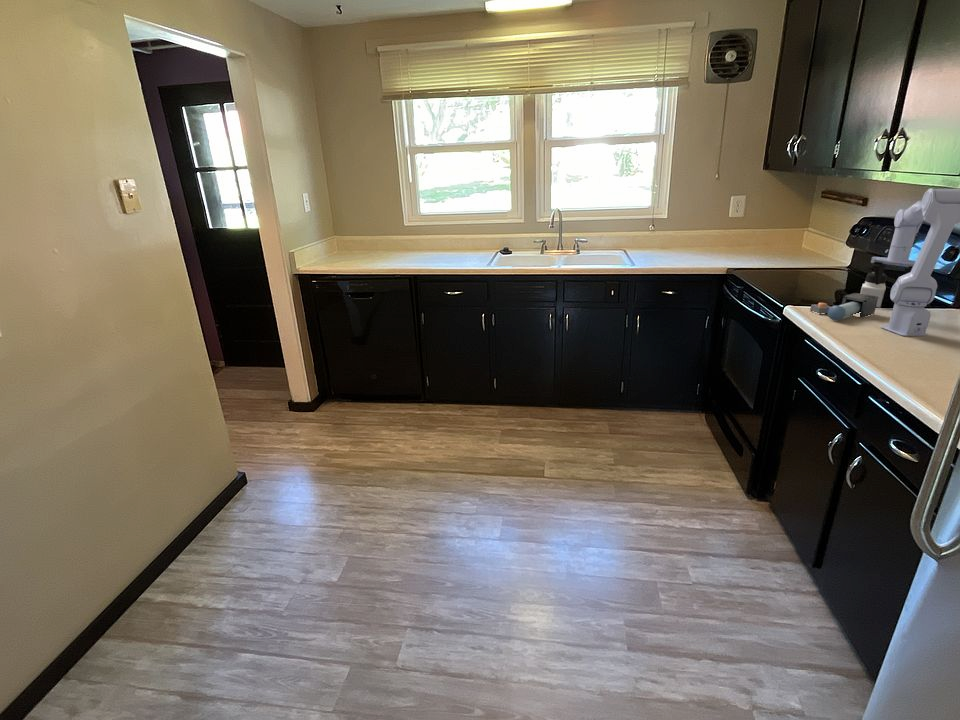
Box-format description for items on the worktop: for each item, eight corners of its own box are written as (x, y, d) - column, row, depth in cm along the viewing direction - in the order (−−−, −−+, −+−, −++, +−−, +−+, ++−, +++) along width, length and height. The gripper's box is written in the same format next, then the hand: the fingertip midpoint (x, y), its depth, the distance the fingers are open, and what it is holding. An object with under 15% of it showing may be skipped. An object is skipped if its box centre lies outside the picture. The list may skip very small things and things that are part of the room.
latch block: (831, 314, 183) (833, 307, 182) (818, 314, 183) (820, 308, 182) (822, 310, 188) (824, 304, 187) (809, 310, 188) (811, 304, 187)
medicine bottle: (880, 308, 190) (889, 276, 185) (857, 305, 194) (865, 273, 190) (881, 303, 195) (889, 272, 191) (858, 301, 199) (866, 270, 195)
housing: (850, 309, 188) (855, 292, 186) (873, 314, 182) (878, 296, 180) (839, 313, 184) (843, 296, 182) (862, 318, 178) (867, 300, 176)
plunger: (826, 312, 184) (828, 304, 183) (819, 312, 184) (821, 304, 183) (822, 310, 186) (823, 302, 185) (815, 310, 186) (816, 302, 185)
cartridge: (847, 311, 184) (851, 298, 183) (863, 314, 180) (866, 301, 179) (826, 318, 177) (829, 304, 175) (841, 322, 173) (845, 307, 171)
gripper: (932, 248, 169) (920, 288, 174) (881, 243, 180) (871, 281, 185) (923, 250, 165) (911, 291, 170) (872, 245, 177) (862, 283, 182)
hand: (890, 286), depth 177 cm, fingers open, 7 cm apart
